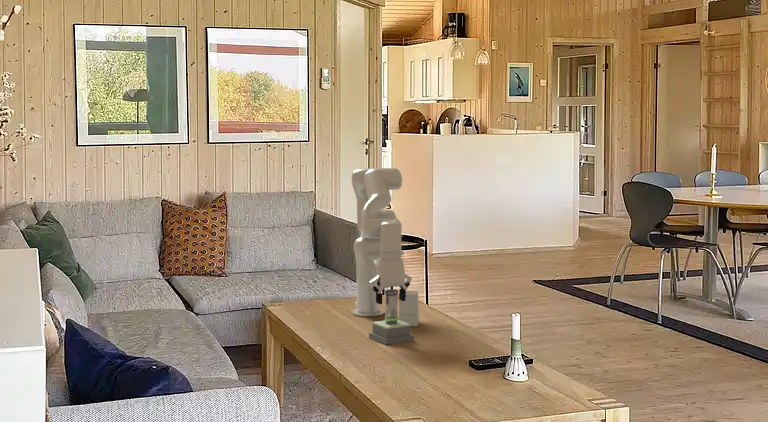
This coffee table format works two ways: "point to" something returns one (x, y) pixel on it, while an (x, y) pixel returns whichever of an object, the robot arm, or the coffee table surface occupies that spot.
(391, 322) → the clear jar with lid
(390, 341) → the pedestal
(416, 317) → the supplement box
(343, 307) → the coffee table surface
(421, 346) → the coffee table surface
